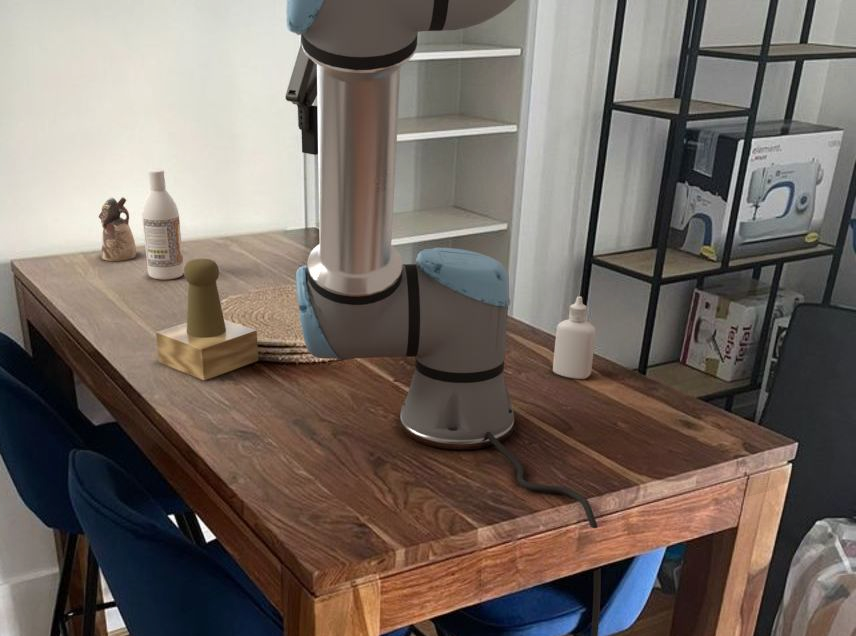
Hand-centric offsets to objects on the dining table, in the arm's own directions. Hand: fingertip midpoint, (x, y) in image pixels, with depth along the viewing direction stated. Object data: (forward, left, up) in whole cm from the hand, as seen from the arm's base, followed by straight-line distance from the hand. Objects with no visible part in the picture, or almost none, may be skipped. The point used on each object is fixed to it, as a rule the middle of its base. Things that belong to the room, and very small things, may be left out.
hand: (343, 147), depth 151 cm
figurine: (+70, +9, -31) cm, 77 cm away
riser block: (+6, +22, -31) cm, 38 cm away
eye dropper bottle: (-31, -20, -31) cm, 48 cm away
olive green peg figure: (+6, +22, -26) cm, 35 cm away
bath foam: (+52, +7, -31) cm, 61 cm away
